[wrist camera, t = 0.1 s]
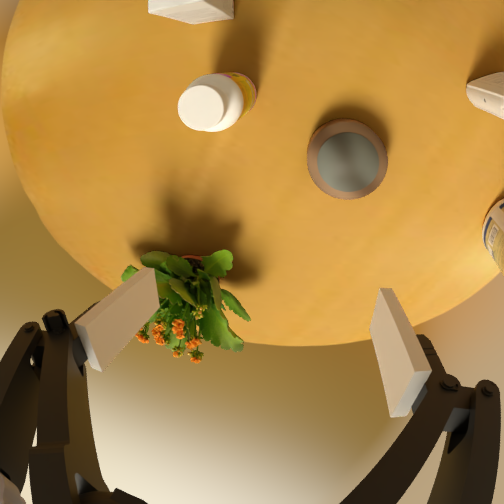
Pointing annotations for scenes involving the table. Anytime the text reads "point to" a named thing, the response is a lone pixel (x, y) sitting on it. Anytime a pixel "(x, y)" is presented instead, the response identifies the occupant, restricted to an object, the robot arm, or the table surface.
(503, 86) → the photo printer
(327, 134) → the walnut plinth
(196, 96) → the supplement bottle
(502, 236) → the supplement tub
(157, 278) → the potted flower
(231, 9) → the skincare box
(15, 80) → the table surface
